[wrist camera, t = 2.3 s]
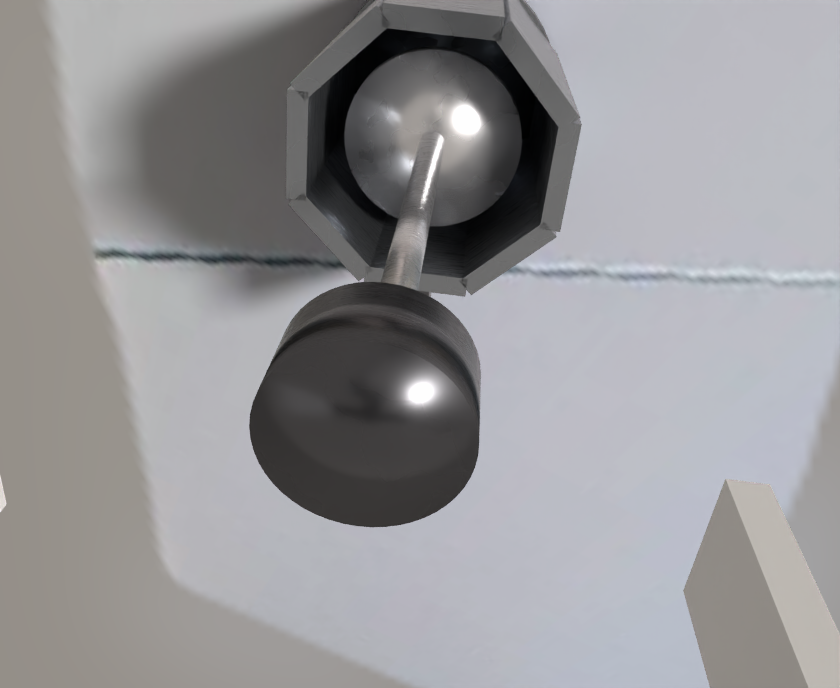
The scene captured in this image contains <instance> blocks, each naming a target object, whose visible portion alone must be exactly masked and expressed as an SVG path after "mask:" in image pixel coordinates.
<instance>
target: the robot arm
mask: <svg viewBox="0 0 840 688" xmlns="http://www.w3.org/2000/svg"><path fill="white" fill-rule="evenodd" d="M5 505H6V499H5V495H4V490H3V486H2V481H1V476H0V512H1V511H2V509H3V508H4V507H5ZM683 591H684V595H685V598H686V602H687V605H688V609H689V613H690V616H691V620H692V624H693V627H694V631H695V635H696V638H697V642H698V645H699V649H700V653H701V656H702V660H703V664H704V667H705V671H706V675H707V678H708V682H709V686H710V688H840V634H839V632H838V629H837V627H836V625H835V623H834V621H833V619H832V617H831V614H830V612H829V610H828V608H827V606H826V604H825V602H824V599H823V597H822V595H821V593H820V591H819V589H818V587H817V584H816V582H815V580H814V578H813V576H812V574H811V572H810V570H809V568H808V565H807V563H806V561H805V559H804V557H803V555H802V552H801V550H800V548H799V546H798V544H797V542H796V540H795V537H794V536H793V533H792V531H791V529H790V527H789V525H788V522H787V520H786V518H785V516H784V514H783V512H782V510H781V507H780V505H779V503H778V501H777V499H776V497H775V495H774V493H773V490H772V488H771V486H770V484H762V483H754V482H746V481H738V480H730V479H725V482H724V484H723V487H722V490H721V492H720V495H719V498H718V500H717V503H716V506H715V508H714V511H713V514H712V516H711V519H710V522H709V524H708V527H707V529H706V532H705V535H704V537H703V540H702V543H701V545H700V548H699V551H698V553H697V556H696V559H695V561H694V564H693V567H692V569H691V572H690V575H689V577H688V580H687V582H686V585H685V588H684V590H683Z"/></svg>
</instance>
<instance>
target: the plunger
mask: <svg viewBox="0 0 840 688" xmlns="http://www.w3.org/2000/svg"><path fill="white" fill-rule="evenodd" d="M344 134H345V150H346V156H347V159H348V163H349V166H350V169H351V171H352V174H353V176H354V178H355V180H356V181H357V183H358V185H359V186H360V188H361V189H362V190H363V192H364V193H365V194H366V196H367V197H368V198H369V199H370V200H371V201H372V202H373V203H374V204H376V205H377V206H378V207H379V208H381V209H382V210H383V211H385V212H387V213H388V214H390V215H392V216H393V217H396V218H398V222H397V226H396V229H395V233H394V236H393V240H392V243H391V247H390V250H389V254H388V258H387V261H386V265H385V268H384V272H383V275H382V279H381V282H360V283H353V284H348V285H343V286H340V287H337V288H334V289H331V290H329V291H327V292H325V293H323V294H320V295H319V296H317V297H316V298H314V299H313V300H311V301H310V302H308V303H307V304H306V305H305V306H304V307H303V308H302V309H300V311H299V312H298V313H297V314H296V315H295V316H294V318H293V319H292V321H291V322H290V324H289V325H288V327H287V329H286V331H285V333H284V335H283V337H282V340H281V342H280V344H279V346H278V348H277V350H276V353H275V355H274V357H273V359H272V361H271V363H270V366H269V368H268V370H267V372H266V374H265V377H264V379H263V381H262V383H261V385H260V387H259V390H258V392H257V394H256V397H255V399H254V401H253V405H252V409H251V413H250V425H249V427H250V437H251V442H252V446H253V450H254V452H255V455H256V457H257V460H258V462H259V464H260V465H261V467H262V469H263V470H264V472H265V474H266V475H267V476H268V477H269V479H270V480H271V481H272V483H273V484H274V485H275V486H276V487H277V488H278V489H279V490H280V491H281V492H282V493H283V494H285V495H286V496H287V497H288V498H290V499H291V500H292V501H294V502H295V503H297V504H298V505H300V506H301V507H303V508H305V509H307V510H308V511H310V512H312V513H314V514H316V515H319V516H321V517H324V518H327V519H329V520H333V521H336V522H340V523H343V524H349V525H355V526H364V527H387V526H396V525H401V524H406V523H410V522H413V521H416V520H419V519H422V518H425V517H427V516H429V515H431V514H433V513H435V512H437V511H438V510H440V509H441V508H443V507H444V506H446V505H447V504H448V503H449V502H451V501H452V500H453V499H454V498H455V497H456V496H457V495H458V494H459V493H460V492H461V491H462V489H463V488H464V487H465V485H466V484H467V482H468V481H469V479H470V477H471V475H472V473H473V470H474V468H475V465H476V461H477V457H478V449H479V424H480V386H481V371H480V361H479V357H478V353H477V350H476V347H475V345H474V342H473V340H472V338H471V336H470V335H469V333H468V331H467V330H466V328H465V327H464V326H463V324H462V323H461V322H460V320H459V319H458V318H457V317H456V316H455V315H454V314H453V313H452V312H451V311H450V310H448V309H447V308H446V307H445V306H443V305H442V304H441V303H439V302H438V301H436V300H434V299H433V298H431V297H429V296H428V295H426V294H423V293H421V292H419V291H418V286H419V281H420V276H421V270H422V265H423V259H424V254H425V248H426V243H427V238H428V232H429V227H430V226H447V225H452V224H457V223H460V222H463V221H466V220H469V219H471V218H473V217H475V216H477V215H479V214H480V213H482V212H483V211H485V210H486V209H488V208H489V207H490V206H491V205H493V204H494V203H495V202H496V201H497V200H498V199H499V198H500V196H501V195H502V194H503V193H504V191H505V190H506V189H507V187H508V186H509V184H510V182H511V180H512V179H513V177H514V174H515V172H516V169H517V167H518V163H519V159H520V155H521V146H522V132H521V123H520V117H519V112H518V109H517V106H516V103H515V101H514V98H513V96H512V94H511V92H510V90H509V89H508V87H507V86H506V84H505V83H504V81H503V80H502V79H501V78H500V77H499V75H498V74H497V73H496V72H495V71H494V70H493V69H491V68H490V67H489V66H488V65H487V64H485V63H484V62H482V61H481V60H479V59H478V58H476V57H474V56H472V55H470V54H468V53H466V52H463V51H460V50H457V49H453V48H447V47H438V46H428V47H418V48H414V49H410V50H406V51H404V52H401V53H399V54H396V55H394V56H393V57H391V58H389V59H387V60H386V61H384V62H383V63H382V64H380V65H379V66H378V67H376V68H375V69H374V70H373V71H372V72H371V73H370V74H369V75H368V77H367V78H366V79H365V81H364V82H363V83H362V85H361V86H360V88H359V89H358V91H357V93H356V95H355V96H354V98H353V100H352V103H351V105H350V108H349V110H348V114H347V118H346V124H345V133H344Z"/></svg>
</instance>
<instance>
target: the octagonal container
mask: <svg viewBox="0 0 840 688" xmlns="http://www.w3.org/2000/svg"><path fill="white" fill-rule="evenodd" d="M428 46H438V47H447V48H453V49H457V50H460V51H463V52H466V53H468V54H470V55H472V56H474V57H476V58H478V59H479V60H481V61H482V62H484V63H485V64H487V65H488V66H489V67H490V68H491V69H493V70H494V71H495V72H496V73H497V74H498V75H499V77H500V78H501V79H502V80H503V81H504V83H505V84H506V86H507V87H508V89H509V90H510V92H511V94H512V96H513V98H514V101H515V103H516V106H517V109H518V112H519V117H520V123H521V132H522V146H521V155H520V159H519V163H518V167H517V169H516V172H515V174H514V177H513V179H512V180H511V182H510V184H509V186H508V187H507V189H506V190H505V191H504V193H503V194H502V195H501V196H500V198H499V199H498V200H497V201H496V202H495V203H494V204H493V205H491V206H490V207H489V208H488V209H486V210H485V211H483V212H482V213H480V214H479V215H477V216H475V217H473V218H471V219H469V220H466V221H463V222H460V223H457V224H452V225H447V226H430V227H429V232H428V238H427V243H426V248H425V254H424V259H423V265H422V270H421V276H420V281H419V286H418V291H419V292H421V293H423V294H426V295H428V296H429V297H431V292H433V293H441V294H449V295H457V296H465V294H466V290H467V291H468V292H469V293H470V294H471V295H472V294H473V293H475V292H476V291H478V290H479V289H481V288H482V287H484V286H485V285H487V284H488V283H490V282H491V281H493V280H494V279H496V278H497V277H498V276H500V275H501V274H503V273H504V272H506V271H507V270H509V269H510V268H512V267H513V266H515V265H516V264H518V263H519V262H521V261H522V260H523V259H525V258H526V257H528V256H529V255H531V254H532V253H534V252H535V251H537V250H538V249H540V248H541V247H543V246H544V245H546V244H547V243H548V242H550V241H551V240H553V239H554V238H556V232H555V231H557V232H560V229H561V224H562V219H563V214H564V209H565V204H566V199H567V194H568V189H569V184H570V179H571V174H572V170H573V165H574V160H575V155H576V150H577V145H578V140H579V135H580V130H581V125H582V124H581V121H580V119H579V118H580V116H579V113H578V110H577V107H576V105H575V102H574V99H573V96H572V94H571V91H570V88H569V85H568V83H567V80H566V77H565V74H564V71H563V69H562V66H561V63H560V60H559V58H558V55H557V53H556V52H555V50H554V49H553V47H552V46H551V45H550V42H549V40H548V37H547V35H546V33H545V30H544V28H543V26H542V24H541V22H540V21H539V19H538V17H537V16H536V14H535V12H534V11H533V10H532V9H531V8H530V6H529V5H528V4H527V3H526V1H525V0H369V1H368V2H367V3H366V4H365V5H364V6H363V7H362V9H361V10H360V11H359V13H358V14H357V16H356V17H355V18H354V20H353V21H352V22H351V23H350V24H349V25H348V26H346V27H345V28H344V29H343V30H342V31H341V32H340V33H339V34H338V35H337V36H336V37H335V38H334V39H333V40H332V41H331V42H330V43H329V44H328V45H327V46H326V47H325V48H324V49H323V50H322V51H321V52H320V53H319V54H318V55H317V56H316V57H315V58H314V59H313V60H312V61H311V62H310V63H309V64H308V65H307V66H306V67H305V68H304V69H303V70H302V71H301V72H300V73H299V74H298V75H297V76H296V77H295V78H294V79H293V80H292V81H291V82H290V84H291V86H290V87H289V88H288V89H287V125H286V199H291V201H290V202H289V204H288V205H289V206H290V207H291V208H292V209H293V210H294V211H295V213H296V214H297V215H298V216H299V217H300V218H301V219H302V220H303V221H304V222H305V223H306V225H307V226H308V227H309V228H310V229H311V230H312V231H313V232H314V233H315V234H316V235H317V237H318V238H319V239H320V240H321V241H322V242H323V243H324V244H325V245H326V246H327V247H328V248H329V250H330V251H331V252H332V253H333V254H334V255H335V256H336V257H337V258H338V259H339V260H340V262H341V263H342V264H343V265H344V266H345V267H346V268H347V269H348V270H349V271H350V272H351V274H352V275H353V276H354V277H355V278H356V279H357V280H358V281H360V280H361V279H362V278H364V282H381V279H382V275H383V272H384V268H385V265H386V261H387V258H388V254H389V250H390V247H391V243H392V240H393V236H394V233H395V229H396V226H397V222H398V218H396V217H393V216H392V215H390V214H388V213H387V212H385V211H383V210H382V209H381V208H379V207H378V206H377V205H376V204H374V203H373V202H372V201H371V200H370V199H369V198H368V197H367V196H366V194H365V193H364V192H363V190H362V189H361V188H360V186H359V185H358V183H357V181H356V180H355V178H354V176H353V174H352V171H351V169H350V166H349V163H348V159H347V156H346V150H345V134H344V133H345V124H346V118H347V114H348V110H349V108H350V105H351V103H352V100H353V98H354V96H355V95H356V93H357V91H358V89H359V88H360V86H361V85H362V83H363V82H364V81H365V79H366V78H367V77H368V75H369V74H370V73H371V72H372V71H373V70H374V69H375V68H376V67H378V66H379V65H380V64H382V63H383V62H384V61H386V60H387V59H389V58H391V57H393V56H394V55H396V54H399V53H401V52H404V51H406V50H410V49H414V48H418V47H428Z"/></svg>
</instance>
